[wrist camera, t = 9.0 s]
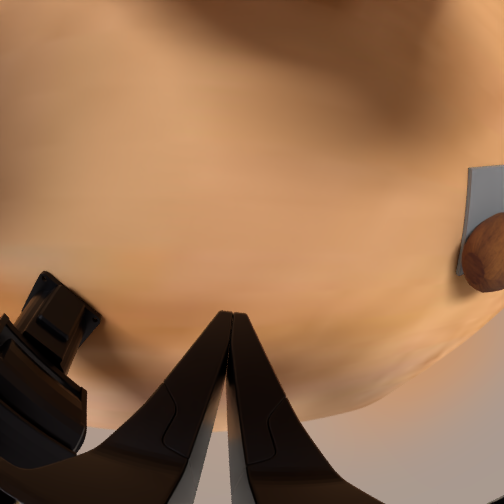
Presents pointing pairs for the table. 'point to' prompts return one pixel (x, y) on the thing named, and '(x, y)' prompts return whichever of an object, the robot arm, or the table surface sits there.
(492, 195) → the felt mat
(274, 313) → the table surface
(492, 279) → the wooden figurine
